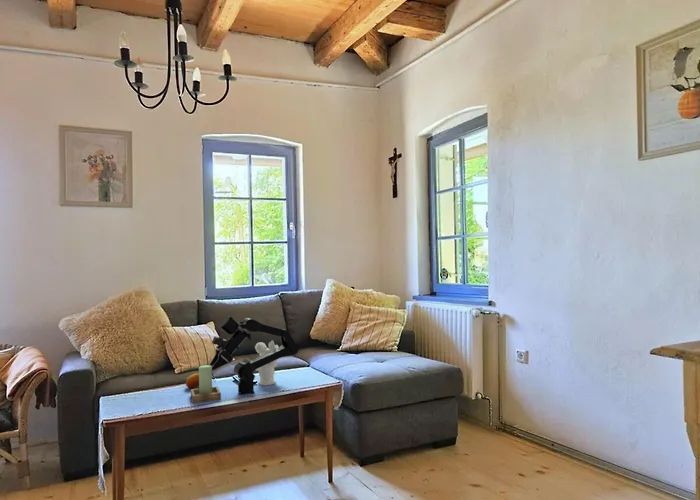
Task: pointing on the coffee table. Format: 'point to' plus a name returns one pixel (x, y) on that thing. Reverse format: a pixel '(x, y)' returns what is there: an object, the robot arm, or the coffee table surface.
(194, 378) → the fruit
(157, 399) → the coffee table surface
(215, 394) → the tray
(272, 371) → the cherub figurine
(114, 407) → the coffee table surface
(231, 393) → the coffee table surface
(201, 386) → the green rounded tapered cylinder
